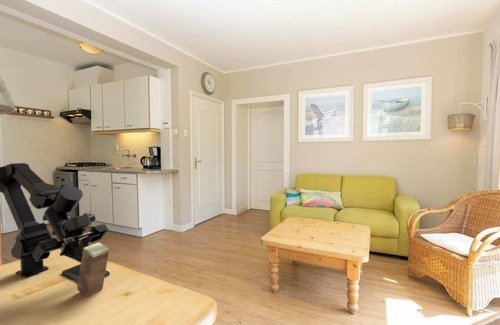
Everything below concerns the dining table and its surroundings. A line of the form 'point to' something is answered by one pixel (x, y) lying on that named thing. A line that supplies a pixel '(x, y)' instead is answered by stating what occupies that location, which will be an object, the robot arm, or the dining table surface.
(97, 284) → the walnut block
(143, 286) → the dining table surface
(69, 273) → the phone
